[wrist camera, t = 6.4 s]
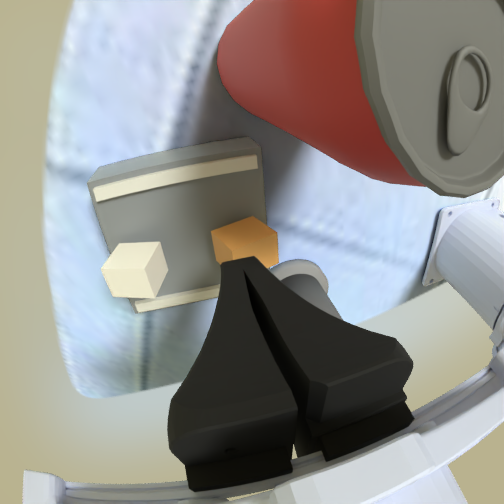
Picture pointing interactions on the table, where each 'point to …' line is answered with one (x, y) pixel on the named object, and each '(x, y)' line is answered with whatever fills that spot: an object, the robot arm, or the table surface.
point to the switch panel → (180, 210)
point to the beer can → (379, 84)
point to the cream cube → (135, 270)
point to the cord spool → (306, 283)
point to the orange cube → (246, 242)
